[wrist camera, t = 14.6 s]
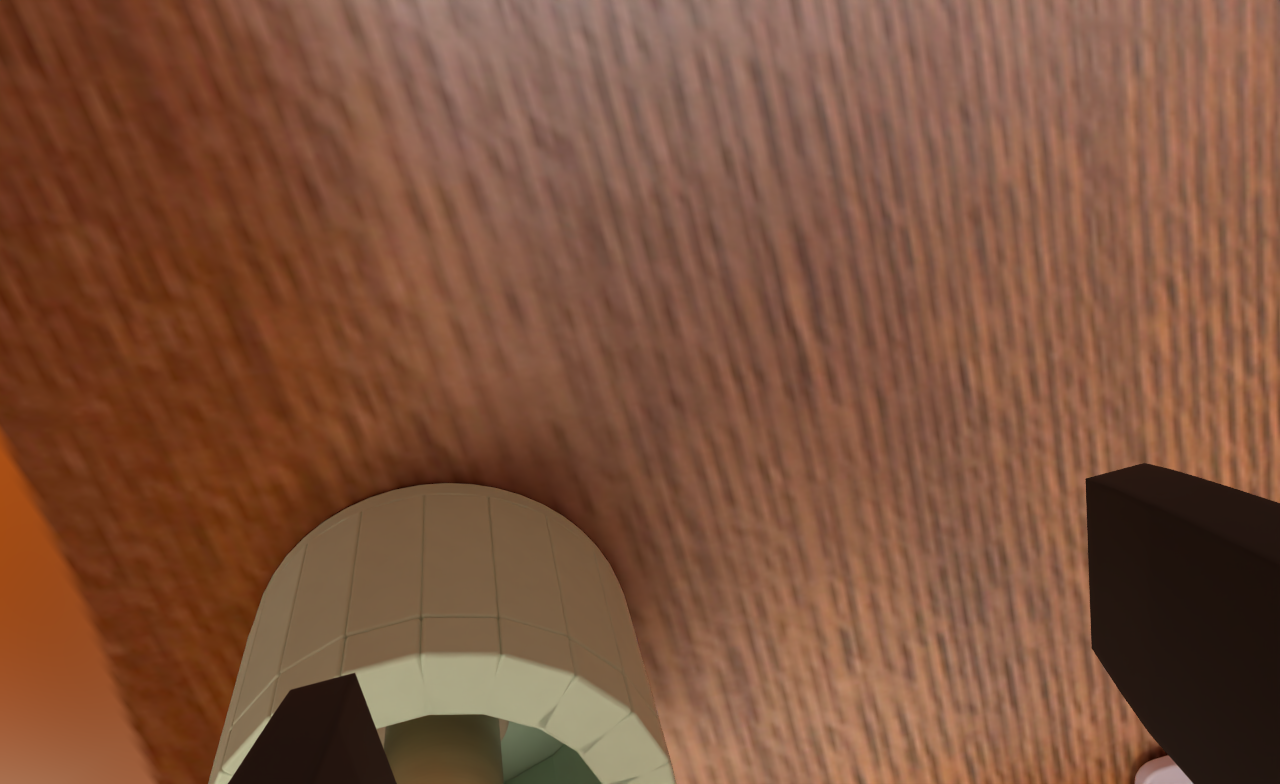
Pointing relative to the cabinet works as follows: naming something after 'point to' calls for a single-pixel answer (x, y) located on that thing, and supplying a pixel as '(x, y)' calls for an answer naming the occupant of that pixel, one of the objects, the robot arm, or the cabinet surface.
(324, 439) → the cabinet surface
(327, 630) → the jar
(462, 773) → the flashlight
